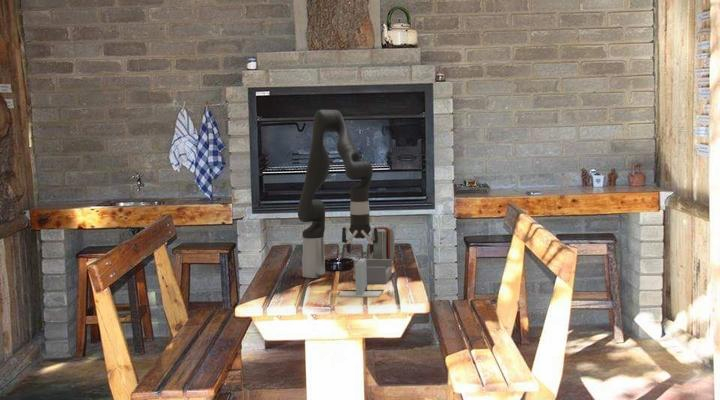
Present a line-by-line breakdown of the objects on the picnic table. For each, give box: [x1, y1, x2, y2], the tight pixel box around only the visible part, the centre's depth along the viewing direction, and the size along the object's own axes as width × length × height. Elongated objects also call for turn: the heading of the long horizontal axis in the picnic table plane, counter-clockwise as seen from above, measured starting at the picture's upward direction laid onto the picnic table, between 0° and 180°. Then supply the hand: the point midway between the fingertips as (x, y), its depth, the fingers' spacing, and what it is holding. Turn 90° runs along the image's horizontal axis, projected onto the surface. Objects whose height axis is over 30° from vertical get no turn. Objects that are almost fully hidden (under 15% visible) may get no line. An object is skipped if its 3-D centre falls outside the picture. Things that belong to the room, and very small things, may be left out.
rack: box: [366, 258, 393, 285], centre depth 374 cm, size 12×18×8 cm, turn 171°
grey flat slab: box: [354, 258, 368, 295], centre depth 353 cm, size 2×13×12 cm, turn 171°
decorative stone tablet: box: [371, 226, 396, 266], centre depth 402 cm, size 19×6×30 cm
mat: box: [338, 289, 385, 298], centre depth 354 cm, size 16×14×1 cm
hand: (360, 253), depth 352 cm, fingers open, 8 cm apart
